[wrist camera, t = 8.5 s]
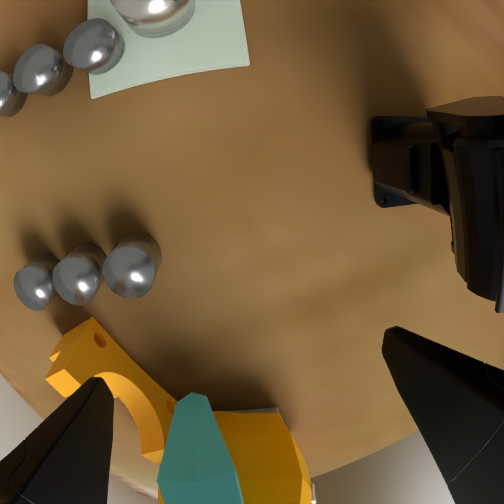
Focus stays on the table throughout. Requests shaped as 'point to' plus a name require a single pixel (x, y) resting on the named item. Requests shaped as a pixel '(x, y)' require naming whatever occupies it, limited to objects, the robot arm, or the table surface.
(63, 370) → the pipe clamp
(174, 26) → the stepped steel cylinder
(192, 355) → the table surface
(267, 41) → the table surface
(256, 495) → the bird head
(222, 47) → the sage mat
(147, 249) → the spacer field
